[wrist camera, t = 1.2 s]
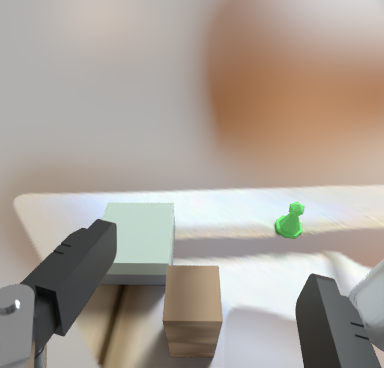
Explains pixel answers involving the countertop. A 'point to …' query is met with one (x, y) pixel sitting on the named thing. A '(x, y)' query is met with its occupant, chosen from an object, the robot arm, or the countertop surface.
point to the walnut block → (192, 310)
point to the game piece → (290, 222)
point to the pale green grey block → (141, 243)
